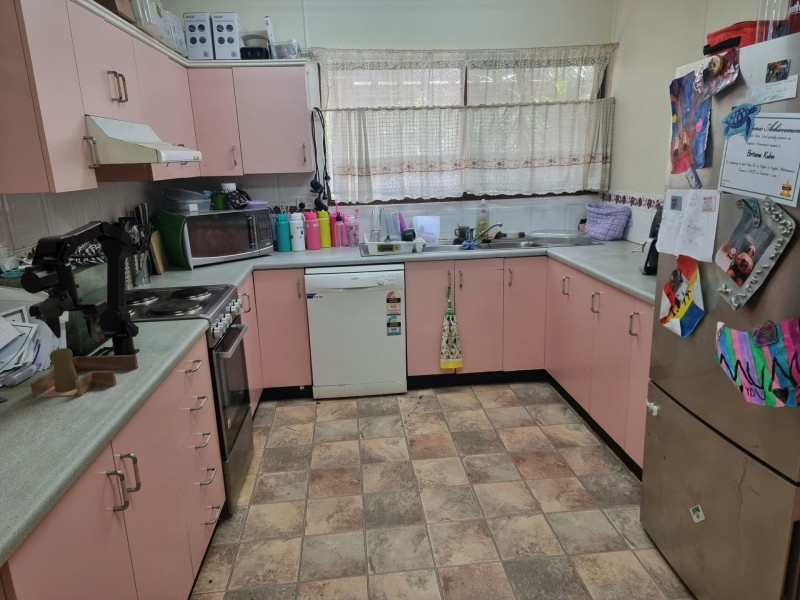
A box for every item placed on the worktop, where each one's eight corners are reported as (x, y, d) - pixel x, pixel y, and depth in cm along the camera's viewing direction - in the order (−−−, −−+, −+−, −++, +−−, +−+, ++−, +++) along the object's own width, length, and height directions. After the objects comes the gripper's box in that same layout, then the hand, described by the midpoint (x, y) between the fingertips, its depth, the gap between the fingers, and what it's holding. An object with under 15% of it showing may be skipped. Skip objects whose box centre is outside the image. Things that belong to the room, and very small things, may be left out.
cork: (85, 382, 146) (77, 345, 143) (73, 391, 140) (65, 353, 137) (63, 383, 145) (55, 346, 143) (50, 392, 140) (41, 354, 137)
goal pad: (62, 382, 147) (62, 381, 147) (94, 381, 147) (93, 380, 147) (40, 396, 138) (40, 395, 138) (74, 395, 138) (73, 394, 138)
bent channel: (77, 369, 157) (74, 356, 156) (138, 367, 156) (136, 355, 155) (33, 396, 138) (30, 382, 137) (102, 395, 138) (99, 381, 137)
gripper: (7, 292, 134) (22, 349, 139) (79, 290, 134) (91, 347, 138) (36, 281, 145) (49, 334, 149) (103, 279, 144) (114, 332, 149)
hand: (75, 337), depth 146 cm, fingers open, 9 cm apart
